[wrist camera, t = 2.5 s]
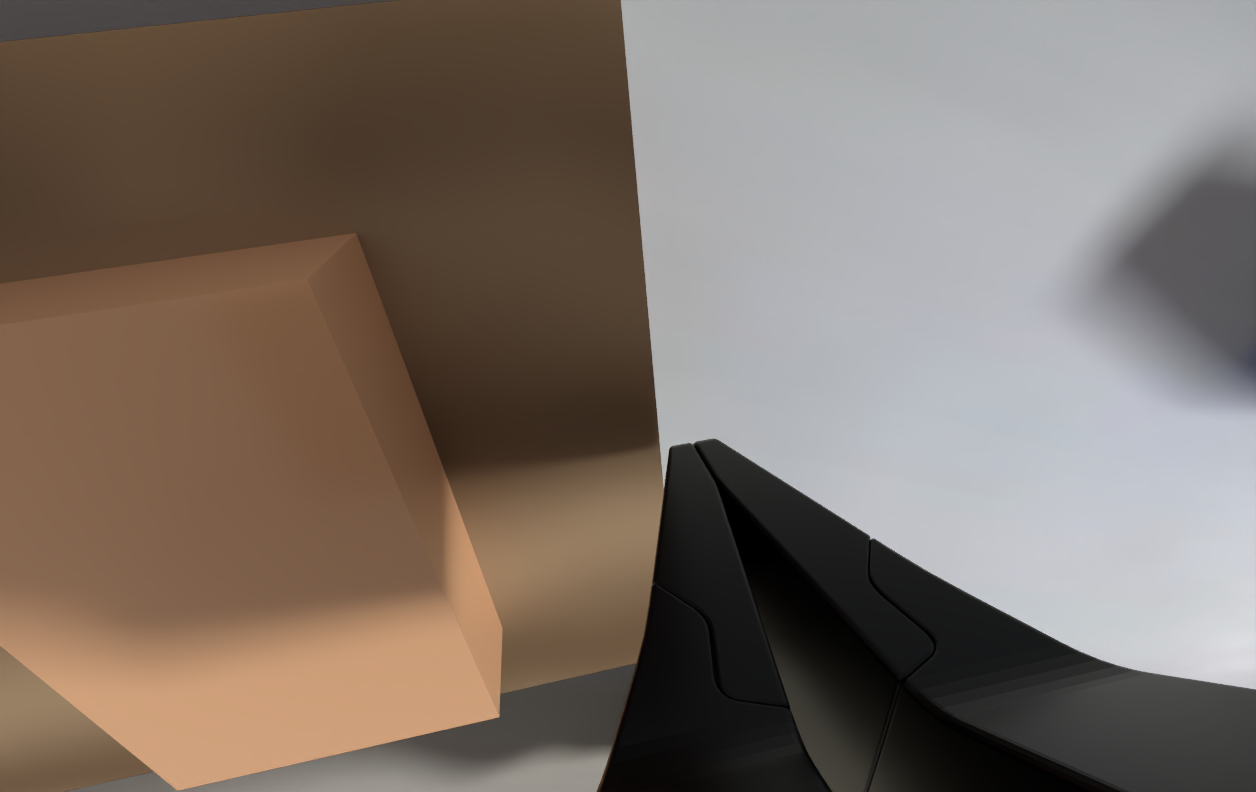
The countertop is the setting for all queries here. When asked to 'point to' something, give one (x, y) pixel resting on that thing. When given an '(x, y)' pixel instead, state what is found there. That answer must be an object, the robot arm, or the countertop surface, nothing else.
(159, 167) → the walnut deck
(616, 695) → the countertop surface
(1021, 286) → the countertop surface
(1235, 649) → the countertop surface
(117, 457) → the terracotta tile
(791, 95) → the countertop surface
